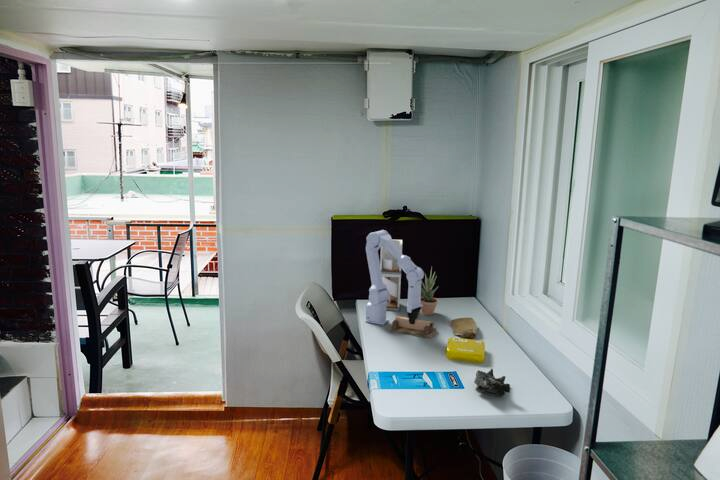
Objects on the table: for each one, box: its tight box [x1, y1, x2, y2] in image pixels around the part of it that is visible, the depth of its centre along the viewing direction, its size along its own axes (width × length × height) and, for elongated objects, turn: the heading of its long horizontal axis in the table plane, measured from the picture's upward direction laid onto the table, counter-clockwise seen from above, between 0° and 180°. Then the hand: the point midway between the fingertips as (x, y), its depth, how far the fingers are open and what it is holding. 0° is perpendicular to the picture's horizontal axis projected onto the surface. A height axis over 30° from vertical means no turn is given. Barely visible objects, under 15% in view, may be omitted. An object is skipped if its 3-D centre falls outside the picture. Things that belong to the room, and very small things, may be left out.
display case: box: [379, 239, 403, 312], centre depth 258 cm, size 11×11×35 cm
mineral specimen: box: [473, 368, 511, 397], centre depth 174 cm, size 15×13×10 cm
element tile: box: [445, 336, 486, 365], centre depth 205 cm, size 15×15×5 cm
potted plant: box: [420, 266, 439, 316], centre depth 251 cm, size 10×10×25 cm
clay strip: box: [394, 315, 431, 331], centre depth 228 cm, size 16×2×4 cm, turn 66°
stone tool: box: [449, 316, 479, 340], centre depth 230 cm, size 12×4×25 cm
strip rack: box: [387, 315, 437, 339], centre depth 229 cm, size 20×10×4 cm, turn 66°
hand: (412, 322), depth 228 cm, fingers closed on clay strip, 2 cm apart
